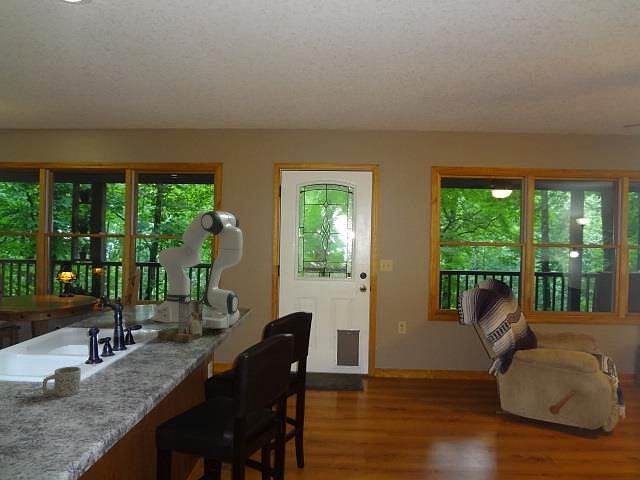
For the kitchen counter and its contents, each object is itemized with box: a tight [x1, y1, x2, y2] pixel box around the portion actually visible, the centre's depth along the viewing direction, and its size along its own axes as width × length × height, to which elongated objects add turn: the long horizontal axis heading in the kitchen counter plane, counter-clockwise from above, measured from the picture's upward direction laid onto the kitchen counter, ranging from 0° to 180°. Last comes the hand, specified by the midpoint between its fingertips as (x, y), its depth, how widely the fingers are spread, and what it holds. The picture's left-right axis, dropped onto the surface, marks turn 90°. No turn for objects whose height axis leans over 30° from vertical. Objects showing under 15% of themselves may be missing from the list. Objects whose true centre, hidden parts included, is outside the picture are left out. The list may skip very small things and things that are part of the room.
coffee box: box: [177, 299, 204, 337], centre depth 215 cm, size 9×6×16 cm
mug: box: [42, 366, 82, 398], centre depth 136 cm, size 10×7×7 cm, turn 141°
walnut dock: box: [157, 330, 201, 344], centre depth 211 cm, size 18×10×3 cm, turn 64°
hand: (195, 323), depth 219 cm, fingers closed
